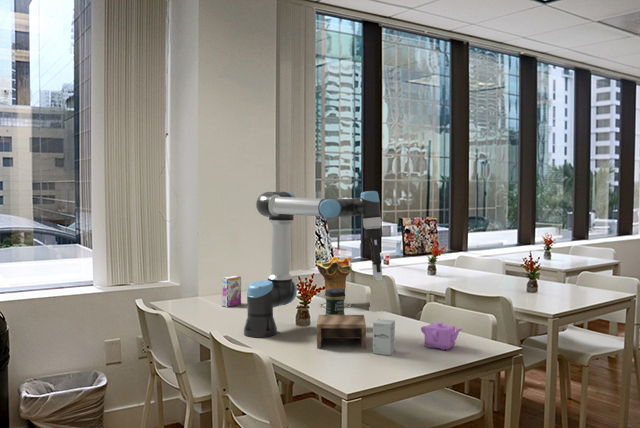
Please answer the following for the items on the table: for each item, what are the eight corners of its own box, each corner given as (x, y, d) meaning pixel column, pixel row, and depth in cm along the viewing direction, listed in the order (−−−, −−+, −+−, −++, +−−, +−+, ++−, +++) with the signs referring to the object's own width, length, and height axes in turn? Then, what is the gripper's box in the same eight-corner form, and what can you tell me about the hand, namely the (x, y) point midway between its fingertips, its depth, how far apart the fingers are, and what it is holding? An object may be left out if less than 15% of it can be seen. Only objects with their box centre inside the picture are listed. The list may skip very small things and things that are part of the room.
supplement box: (372, 353, 216) (372, 322, 216) (377, 349, 223) (377, 318, 223) (390, 355, 213) (390, 323, 213) (395, 350, 220) (395, 319, 220)
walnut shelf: (317, 348, 224) (316, 324, 224) (318, 337, 242) (318, 314, 242) (365, 348, 224) (365, 324, 223) (364, 337, 242) (363, 314, 241)
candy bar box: (227, 307, 307) (227, 278, 307) (221, 306, 310) (221, 277, 310) (241, 304, 316) (241, 276, 316) (235, 303, 319) (235, 275, 319)
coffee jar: (330, 329, 255) (330, 290, 255) (322, 326, 262) (322, 288, 261) (348, 327, 260) (348, 288, 259) (339, 323, 267) (339, 286, 266)
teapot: (467, 347, 225) (468, 322, 225) (457, 355, 214) (457, 329, 213) (426, 341, 235) (426, 317, 235) (414, 348, 223) (414, 324, 223)
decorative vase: (309, 307, 304) (310, 257, 304) (325, 302, 325) (326, 255, 325) (344, 310, 296) (345, 259, 296) (358, 304, 317) (359, 256, 317)
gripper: (384, 227, 215) (390, 280, 215) (379, 227, 240) (384, 275, 240) (365, 228, 216) (371, 282, 215) (362, 229, 240) (367, 277, 240)
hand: (377, 278), depth 227 cm, fingers open, 13 cm apart
